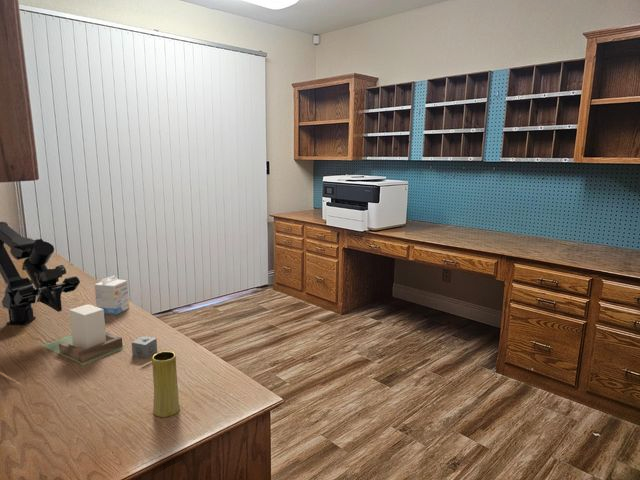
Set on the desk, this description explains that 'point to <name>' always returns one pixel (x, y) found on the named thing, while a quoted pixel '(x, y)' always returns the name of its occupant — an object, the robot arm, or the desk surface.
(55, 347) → the putting strip
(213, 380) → the desk surface
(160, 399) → the vase
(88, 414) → the desk surface
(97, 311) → the cream block
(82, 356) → the wooden tray
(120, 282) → the ink box
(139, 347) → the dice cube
